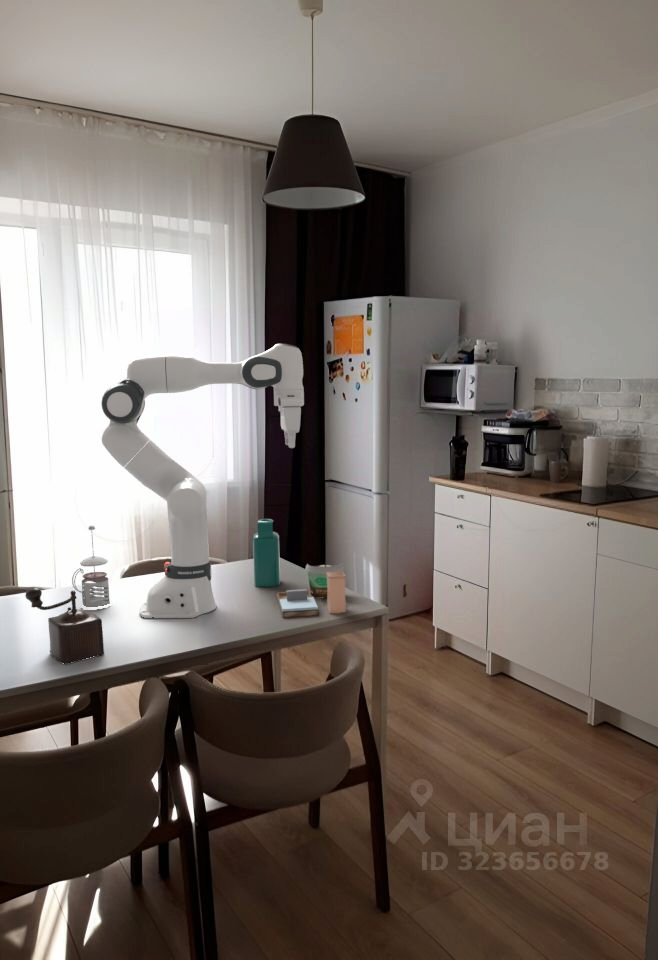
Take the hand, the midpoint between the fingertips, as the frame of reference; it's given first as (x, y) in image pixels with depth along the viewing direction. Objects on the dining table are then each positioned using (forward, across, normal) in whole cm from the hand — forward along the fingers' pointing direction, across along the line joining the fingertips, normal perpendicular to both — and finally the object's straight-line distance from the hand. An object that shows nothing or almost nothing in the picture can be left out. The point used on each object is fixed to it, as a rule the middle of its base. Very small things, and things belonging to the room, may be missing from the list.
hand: (290, 446), depth 219 cm
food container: (+48, -4, +10) cm, 49 cm away
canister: (+48, +11, +11) cm, 50 cm away
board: (+48, +4, 0) cm, 48 cm away
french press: (+48, -9, -61) cm, 78 cm away
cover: (+46, +9, 0) cm, 47 cm away
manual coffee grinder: (+48, +33, -61) cm, 84 cm away
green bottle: (+48, -22, -7) cm, 53 cm away
